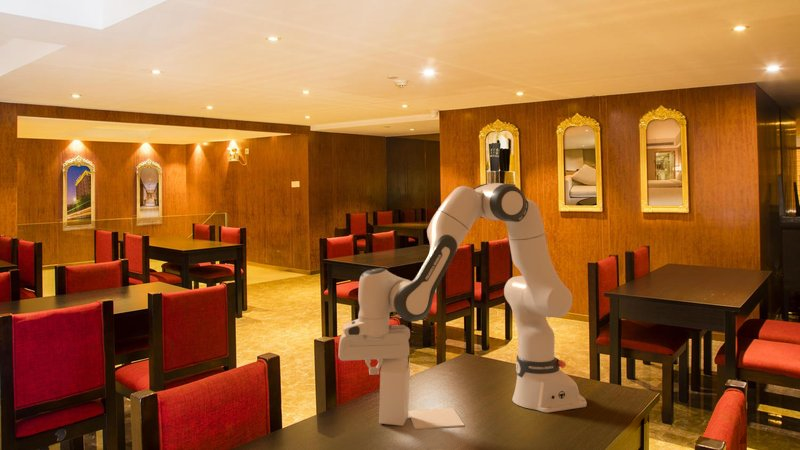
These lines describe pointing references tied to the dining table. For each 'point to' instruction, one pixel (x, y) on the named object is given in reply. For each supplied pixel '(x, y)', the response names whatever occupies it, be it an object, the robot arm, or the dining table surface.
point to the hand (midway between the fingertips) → (374, 373)
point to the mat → (435, 418)
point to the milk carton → (394, 391)
